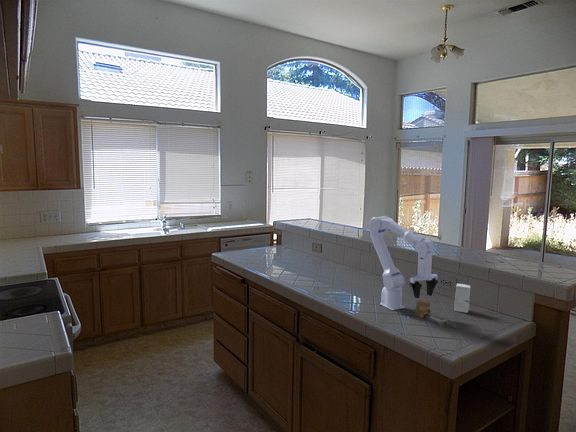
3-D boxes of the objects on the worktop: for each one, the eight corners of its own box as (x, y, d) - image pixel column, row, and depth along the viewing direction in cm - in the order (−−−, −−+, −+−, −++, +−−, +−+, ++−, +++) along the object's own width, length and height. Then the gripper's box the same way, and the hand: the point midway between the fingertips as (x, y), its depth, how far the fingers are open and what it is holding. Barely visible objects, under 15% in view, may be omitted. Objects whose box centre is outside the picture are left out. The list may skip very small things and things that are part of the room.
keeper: (415, 314, 174) (415, 301, 173) (423, 312, 176) (424, 299, 175) (421, 317, 170) (422, 304, 170) (430, 315, 173) (430, 302, 172)
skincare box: (454, 311, 179) (455, 285, 178) (455, 307, 183) (456, 283, 181) (468, 313, 176) (470, 287, 175) (469, 310, 180) (470, 285, 179)
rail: (414, 313, 176) (414, 305, 175) (419, 312, 177) (419, 304, 177) (442, 326, 162) (442, 317, 161) (447, 325, 163) (447, 316, 163)
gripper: (418, 270, 164) (417, 301, 166) (443, 267, 170) (442, 296, 172) (407, 267, 170) (405, 296, 172) (431, 263, 177) (429, 292, 178)
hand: (423, 296), depth 172 cm, fingers open, 7 cm apart
